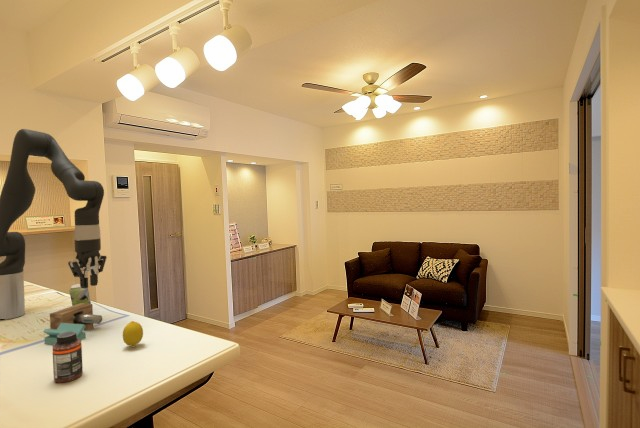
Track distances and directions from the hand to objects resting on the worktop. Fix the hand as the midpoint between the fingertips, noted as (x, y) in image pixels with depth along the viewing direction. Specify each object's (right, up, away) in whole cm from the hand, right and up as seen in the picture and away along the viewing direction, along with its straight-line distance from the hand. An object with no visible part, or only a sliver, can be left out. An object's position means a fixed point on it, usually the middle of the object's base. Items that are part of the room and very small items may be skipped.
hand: (89, 286), depth 118 cm
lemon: (+23, -16, -14) cm, 31 cm away
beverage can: (-15, -15, +18) cm, 28 cm away
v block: (-1, -16, -9) cm, 18 cm away
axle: (-4, -12, +1) cm, 12 cm away
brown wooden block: (-5, -15, +1) cm, 16 cm away
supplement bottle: (+17, -17, -32) cm, 40 cm away
